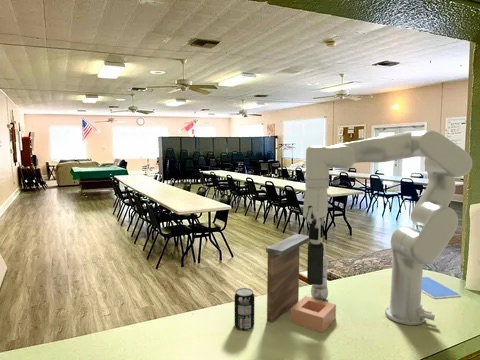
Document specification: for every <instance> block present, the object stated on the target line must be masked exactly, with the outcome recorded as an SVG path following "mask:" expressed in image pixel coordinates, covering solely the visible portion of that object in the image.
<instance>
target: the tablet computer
mask: <svg viewBox="0 0 480 360" xmlns="http://www.w3.org/2000/svg"><path fill="white" fill-rule="evenodd" d="M421 293H424V294H425V295H427V296H428V297H430V298H431V299H434V300H438V299H450V298H461V297H460V296H461V294H460V293H458V292H456V290H455V291H454V290H453V289H451V288H449V287H447V286H445V285H443V284H441V283H440V282H438V281H436V280H434V279H432V278H430V277H428V276H422V288H421Z"/></svg>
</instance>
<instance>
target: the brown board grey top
mask: <svg viewBox="0 0 480 360" xmlns="http://www.w3.org/2000/svg"><path fill="white" fill-rule="evenodd" d="M309 242H311V239H309V235H305V234H298V233H296V234H292V235H291V236H287V238H284V239H282V240H280V241H278V242H276V243H274V244H272V245H270V246H267V247H266V248H265V252H266V253H267V268H266V269H267V276H266V277H267V278H266V279H267V281H266V282H267V283H266V284H267V288H266V290H267V291H266V293H267V294H266V296H267V297H266V301H267V302H266V322H267V323H270V324H273V323H274V322H275V321H277V320H278V319H280V317H281V316H283V315H284V314H285V313H286V312H288V311H290V310H291V307H293V306H294V305H295V304H296V303H298V302H299V293H300V292H299V291H300V286H299V285H300V247H302V246H303V245H305V244H308V243H309Z"/></svg>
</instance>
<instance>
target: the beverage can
mask: <svg viewBox="0 0 480 360" xmlns="http://www.w3.org/2000/svg"><path fill="white" fill-rule="evenodd" d="M234 326H235V327H236V328H237V329H238V330H239V331H250V330H251V329H252V328H253V327H254V326H255V294H254V291H253V289H252V288H249V287H248V288H246V287H241V288H238V289H236V291H235V294H234Z"/></svg>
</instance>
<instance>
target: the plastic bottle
mask: <svg viewBox="0 0 480 360" xmlns="http://www.w3.org/2000/svg"><path fill="white" fill-rule="evenodd" d="M329 264H330V263H329V260H328V258H327V256H326V248H325V247H324V251H323V284H322V285H314V284H311V288H310V293H311V294H310V295H311V298H314V299H318V300H322V301H325V300H327V298H328V297H329V289H328V269H329Z"/></svg>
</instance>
